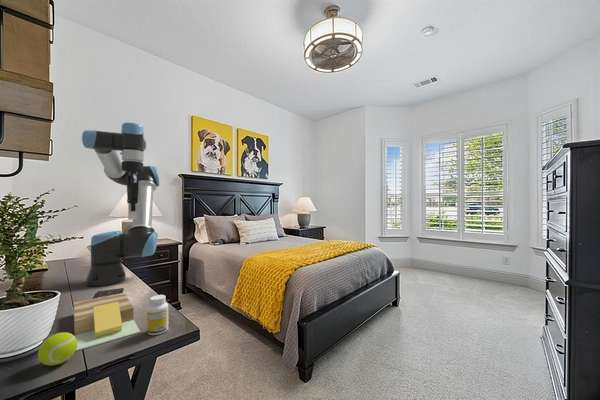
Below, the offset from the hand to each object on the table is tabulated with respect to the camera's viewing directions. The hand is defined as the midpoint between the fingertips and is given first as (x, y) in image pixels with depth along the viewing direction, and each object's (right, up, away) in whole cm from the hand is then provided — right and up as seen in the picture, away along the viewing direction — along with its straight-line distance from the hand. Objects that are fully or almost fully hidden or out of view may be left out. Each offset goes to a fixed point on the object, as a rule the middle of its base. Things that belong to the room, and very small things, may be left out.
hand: (132, 219), depth 105 cm
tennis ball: (+12, -30, -46) cm, 56 cm away
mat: (+14, -30, -33) cm, 46 cm away
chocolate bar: (-7, -31, -4) cm, 32 cm away
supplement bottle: (+27, -30, -31) cm, 51 cm away
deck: (+5, -30, -22) cm, 38 cm away
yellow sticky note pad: (+12, -27, -30) cm, 43 cm away
